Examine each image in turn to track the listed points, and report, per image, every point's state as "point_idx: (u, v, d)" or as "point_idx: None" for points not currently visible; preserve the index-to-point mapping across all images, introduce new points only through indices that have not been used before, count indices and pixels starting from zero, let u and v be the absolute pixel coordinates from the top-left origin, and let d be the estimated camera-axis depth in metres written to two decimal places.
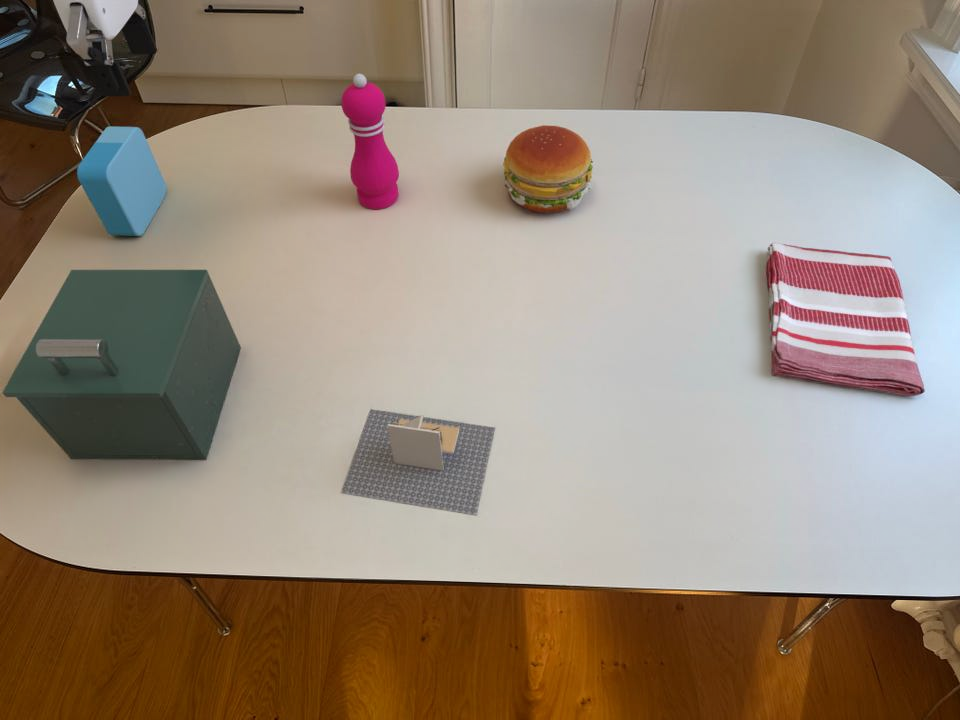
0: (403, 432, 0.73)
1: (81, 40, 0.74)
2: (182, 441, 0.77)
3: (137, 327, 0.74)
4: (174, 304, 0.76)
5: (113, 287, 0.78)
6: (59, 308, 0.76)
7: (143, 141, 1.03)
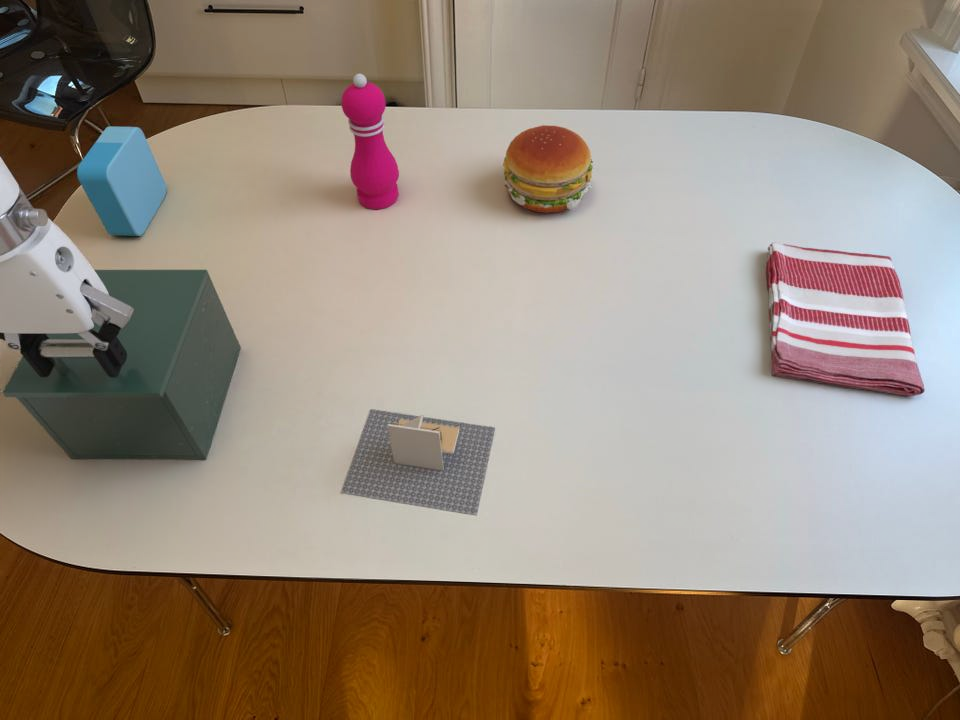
0: (403, 432, 0.73)
1: None
2: (182, 441, 0.77)
3: (137, 327, 0.74)
4: (174, 304, 0.76)
5: (113, 287, 0.78)
6: None
7: (143, 141, 1.03)
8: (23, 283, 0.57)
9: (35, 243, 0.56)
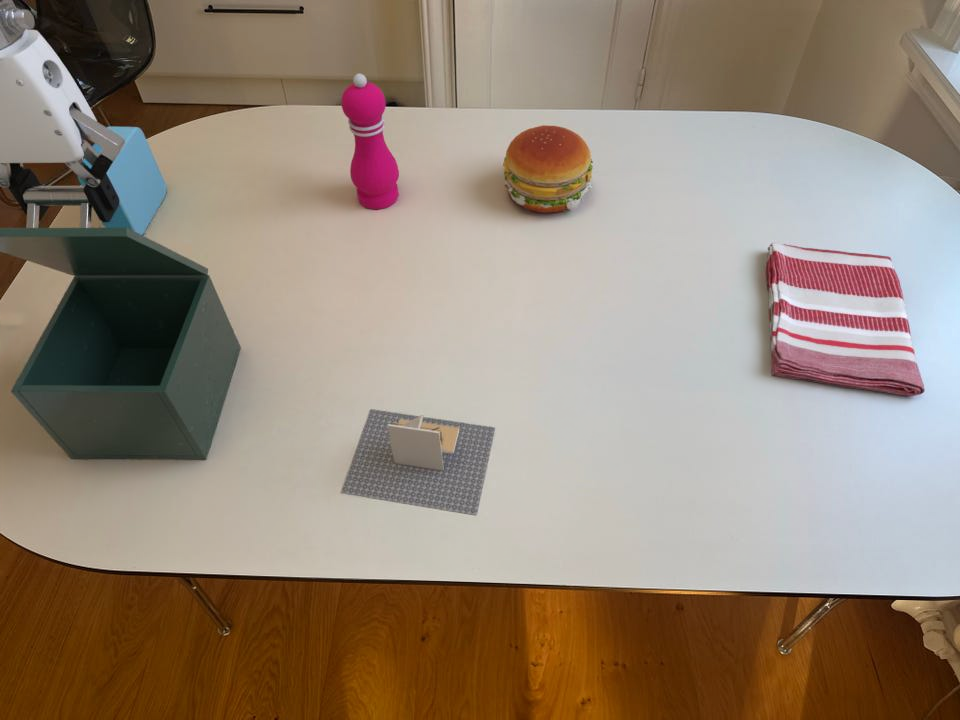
0: (403, 432, 0.73)
1: None
2: (182, 441, 0.77)
3: None
4: None
5: None
6: None
7: (143, 141, 1.03)
8: (10, 95, 0.56)
9: (22, 49, 0.54)
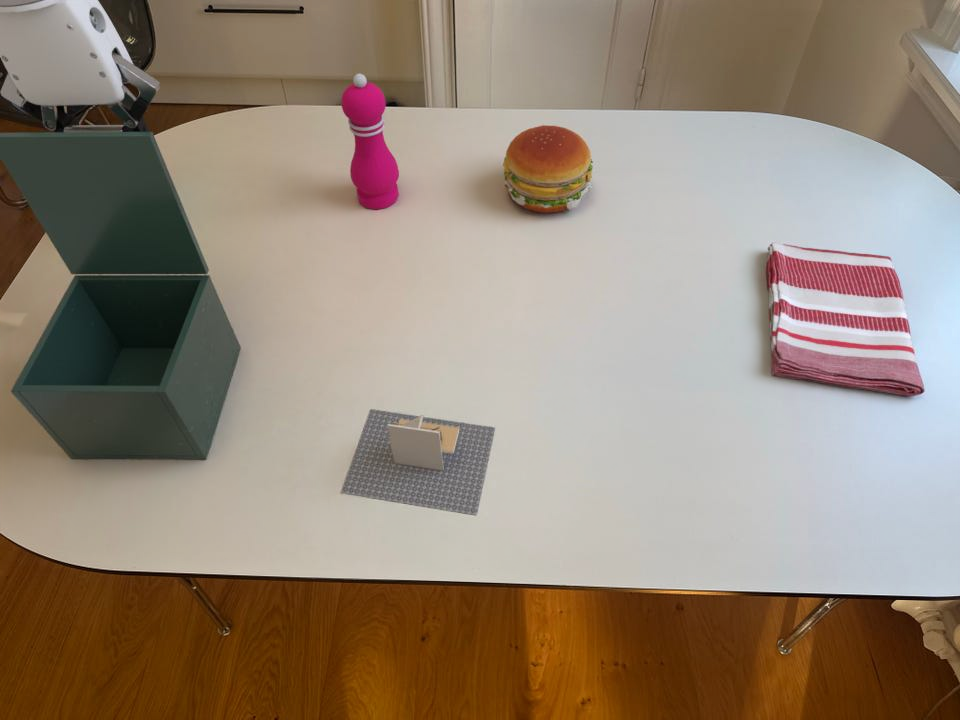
0: (403, 432, 0.73)
1: (8, 94, 0.69)
2: (182, 441, 0.77)
3: None
4: None
5: None
6: None
7: None
8: (61, 38, 0.62)
9: None
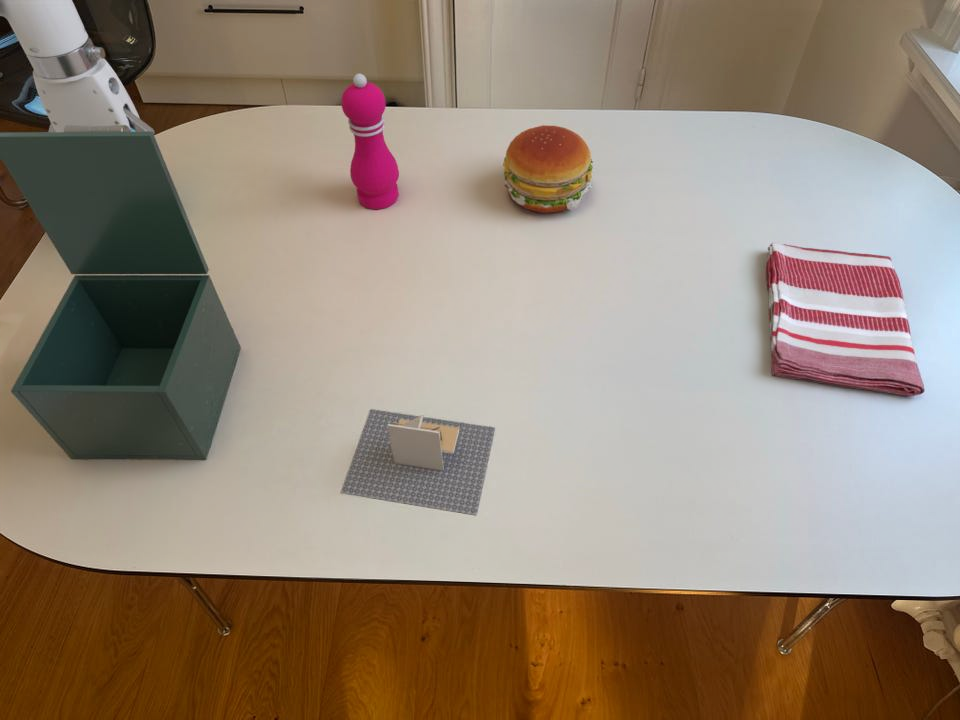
0: (403, 432, 0.73)
1: None
2: (182, 441, 0.77)
3: None
4: None
5: None
6: None
7: None
8: (88, 99, 0.90)
9: (97, 71, 0.89)
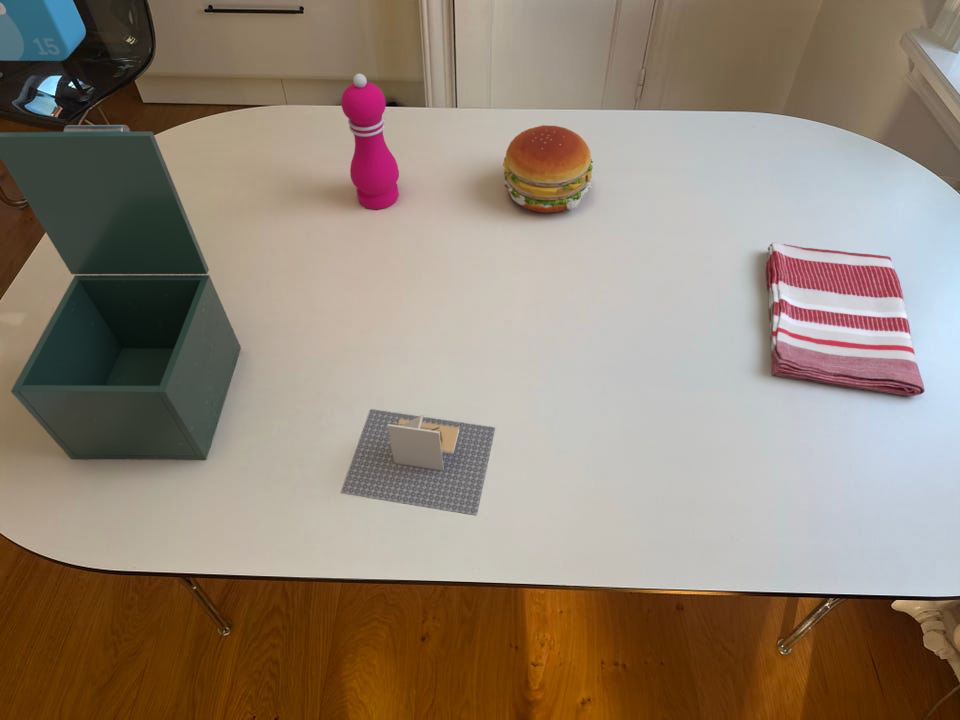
0: (403, 432, 0.73)
1: None
2: (182, 441, 0.77)
3: None
4: None
5: None
6: None
7: None
8: None
9: None
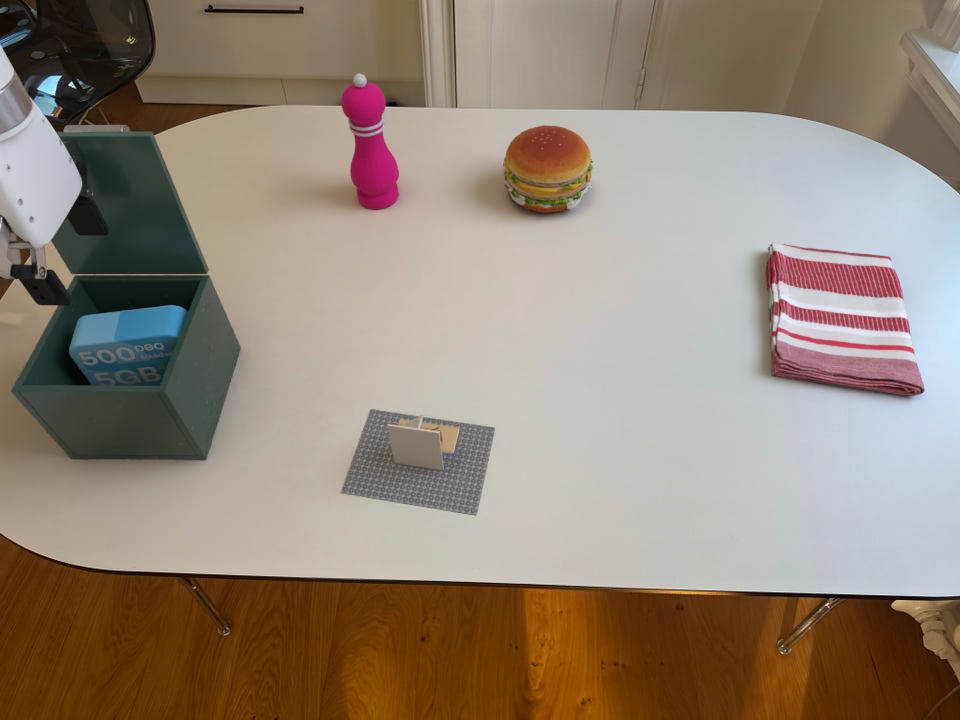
0: (403, 432, 0.73)
1: (0, 262, 0.57)
2: (182, 441, 0.77)
3: None
4: None
5: None
6: None
7: None
8: (44, 138, 0.60)
9: None
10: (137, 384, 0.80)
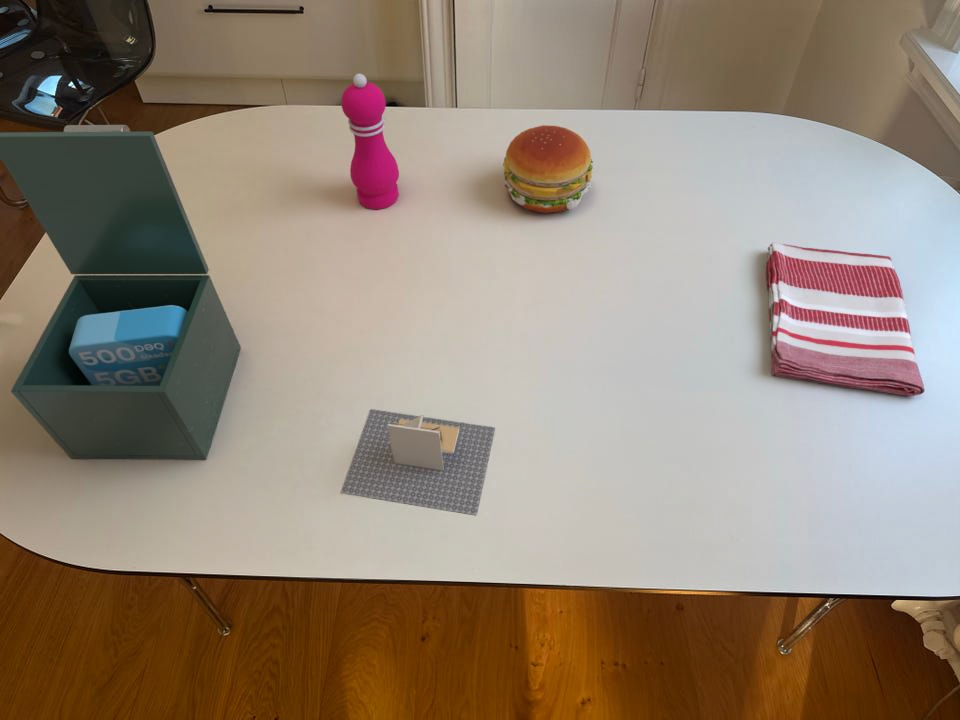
0: (403, 432, 0.73)
1: None
2: (182, 441, 0.77)
3: None
4: None
5: None
6: None
7: None
8: None
9: None
10: (137, 384, 0.80)
